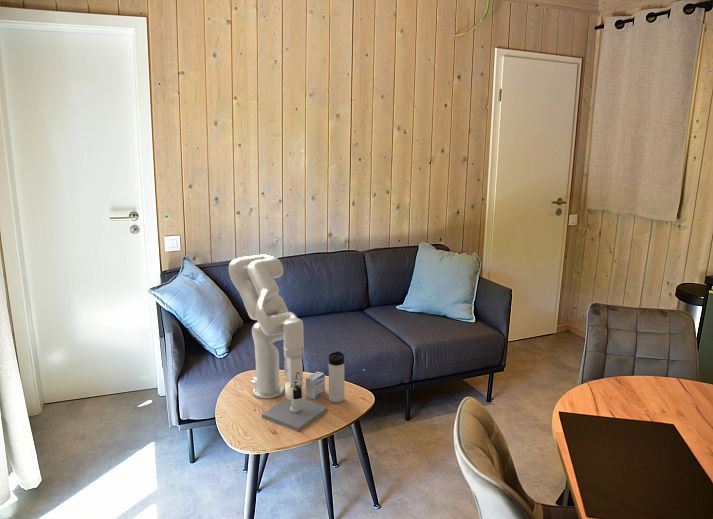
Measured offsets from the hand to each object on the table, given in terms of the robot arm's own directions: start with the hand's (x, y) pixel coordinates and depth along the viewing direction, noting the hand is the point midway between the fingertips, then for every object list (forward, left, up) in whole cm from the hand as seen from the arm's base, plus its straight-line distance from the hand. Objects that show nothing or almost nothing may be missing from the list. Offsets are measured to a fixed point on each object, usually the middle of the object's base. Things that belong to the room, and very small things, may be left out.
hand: (294, 393), depth 208 cm
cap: (0, 0, -1) cm, 1 cm away
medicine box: (-3, +17, -9) cm, 19 cm away
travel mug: (+7, +18, -9) cm, 21 cm away
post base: (0, 0, -9) cm, 9 cm away
